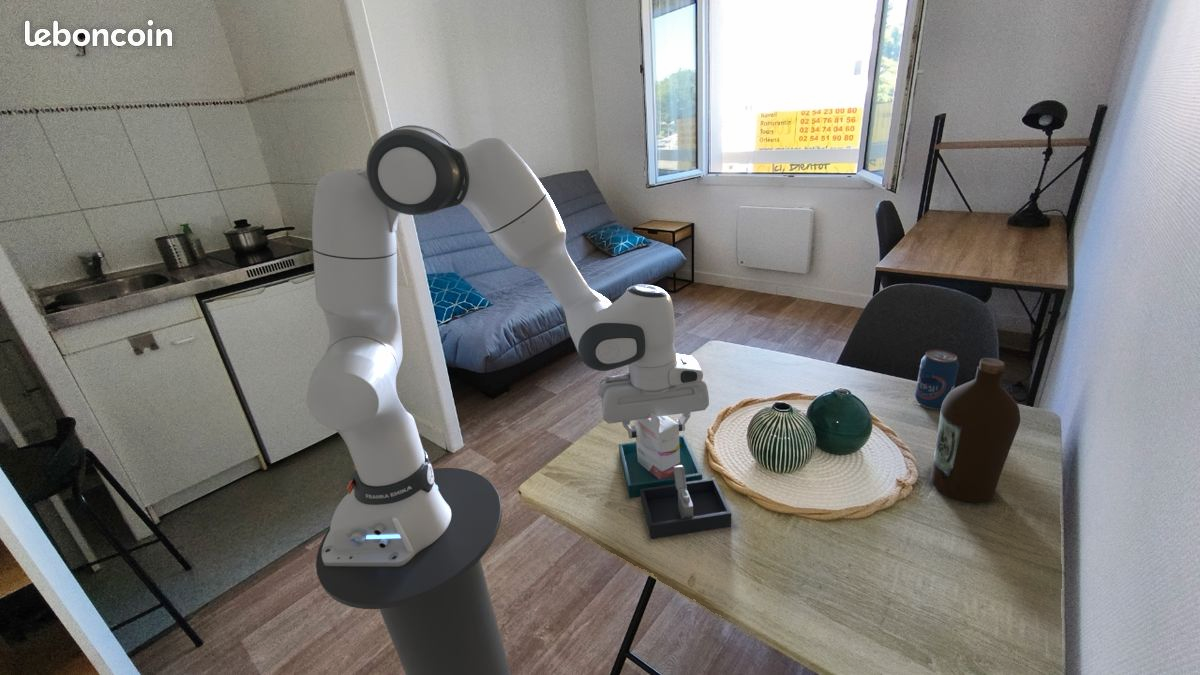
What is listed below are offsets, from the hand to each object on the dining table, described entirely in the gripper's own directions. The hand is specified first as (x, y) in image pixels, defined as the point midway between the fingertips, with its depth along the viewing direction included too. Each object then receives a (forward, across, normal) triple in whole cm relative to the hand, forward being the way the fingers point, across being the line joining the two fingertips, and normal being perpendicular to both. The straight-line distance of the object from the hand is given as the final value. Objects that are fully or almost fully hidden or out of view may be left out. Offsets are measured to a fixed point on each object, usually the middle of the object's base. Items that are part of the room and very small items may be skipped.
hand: (656, 432), depth 98 cm
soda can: (+10, +65, +9) cm, 66 cm away
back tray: (+9, 0, 0) cm, 9 cm away
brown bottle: (+10, +52, -16) cm, 55 cm away
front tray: (+9, +2, -12) cm, 16 cm away
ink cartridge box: (+9, 0, 0) cm, 9 cm away
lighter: (+9, +2, -12) cm, 15 cm away
